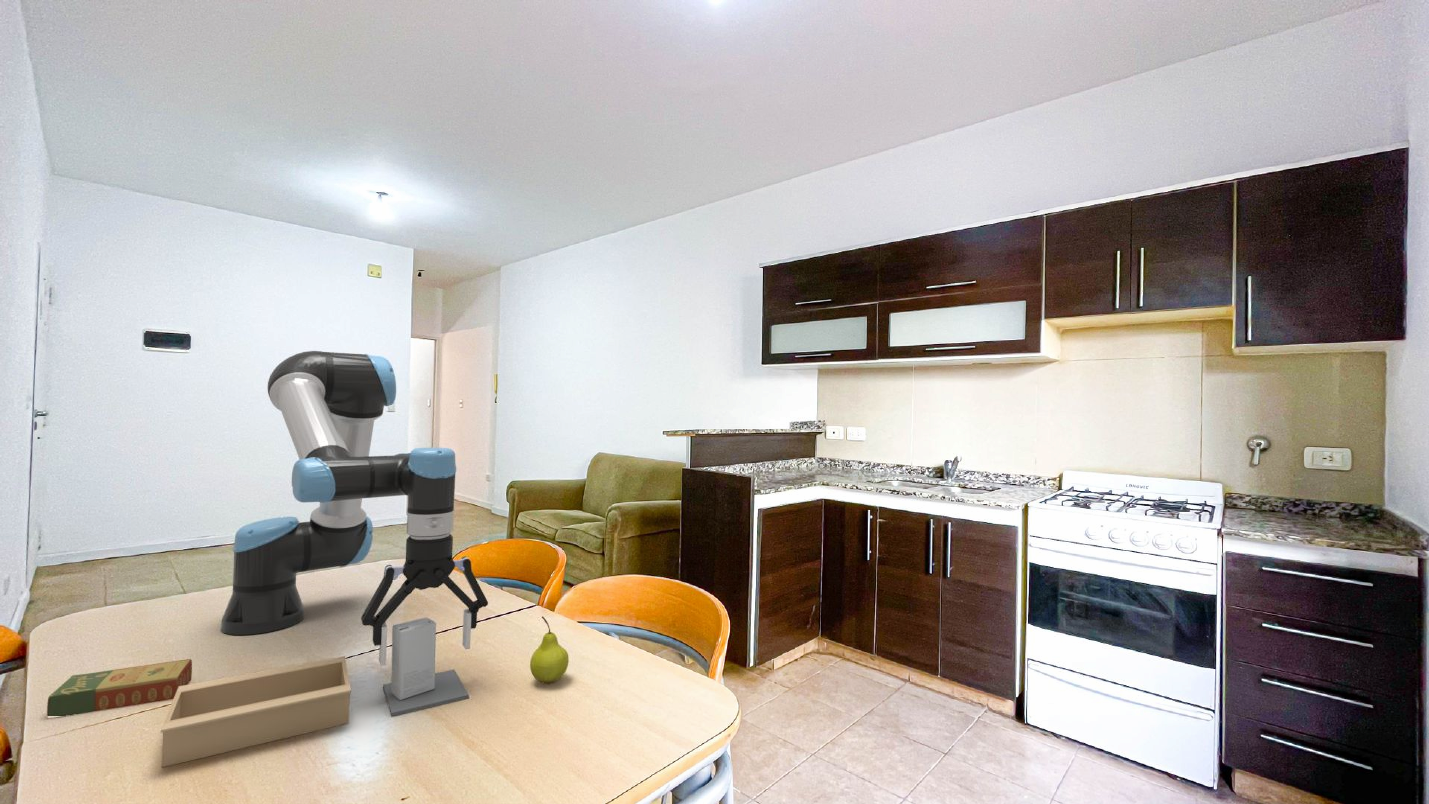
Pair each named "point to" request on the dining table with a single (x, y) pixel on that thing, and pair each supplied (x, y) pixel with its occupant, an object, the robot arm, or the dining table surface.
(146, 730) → the dining table surface
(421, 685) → the skincare box
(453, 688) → the mat
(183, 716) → the tray
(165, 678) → the carton
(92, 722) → the dining table surface
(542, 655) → the fruit
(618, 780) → the dining table surface
